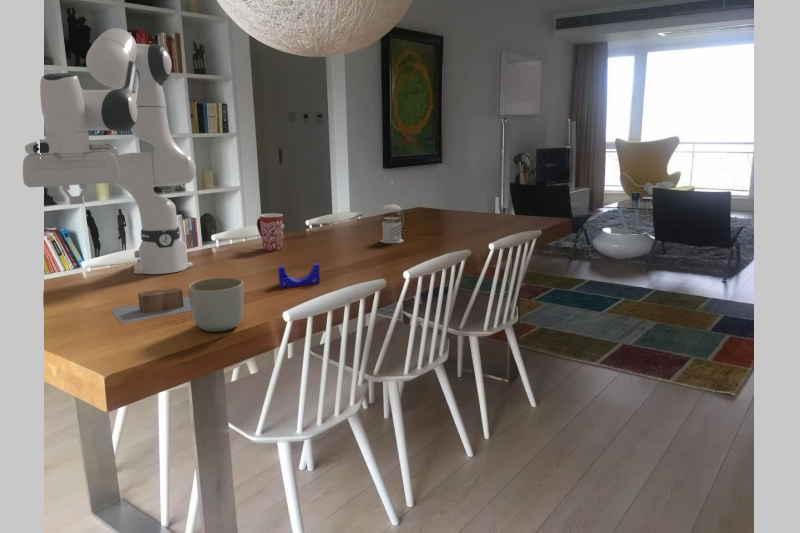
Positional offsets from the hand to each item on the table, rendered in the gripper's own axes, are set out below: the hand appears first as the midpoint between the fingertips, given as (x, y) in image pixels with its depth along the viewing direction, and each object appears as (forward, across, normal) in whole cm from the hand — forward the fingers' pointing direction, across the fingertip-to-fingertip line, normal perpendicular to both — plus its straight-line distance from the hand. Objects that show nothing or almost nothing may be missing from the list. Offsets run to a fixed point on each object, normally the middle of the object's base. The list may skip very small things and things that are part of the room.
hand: (76, 203), depth 141 cm
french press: (+30, -119, -40) cm, 129 cm away
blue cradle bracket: (+30, -57, 0) cm, 64 cm away
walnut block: (+26, -11, +2) cm, 29 cm away
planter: (+29, -24, +25) cm, 45 cm away
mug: (+29, -71, -56) cm, 95 cm away
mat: (+29, -16, +2) cm, 33 cm away
